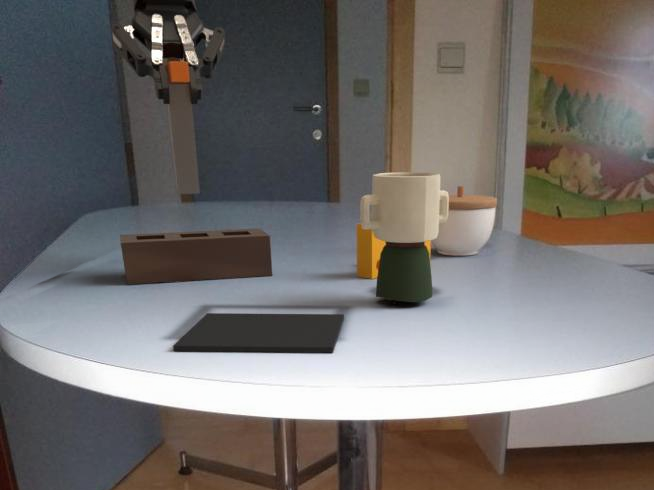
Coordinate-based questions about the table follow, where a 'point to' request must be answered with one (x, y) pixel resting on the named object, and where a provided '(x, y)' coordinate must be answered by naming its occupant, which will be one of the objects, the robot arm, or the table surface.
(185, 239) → the organizer
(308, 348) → the mat
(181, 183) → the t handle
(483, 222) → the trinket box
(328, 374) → the table surface
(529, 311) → the table surface
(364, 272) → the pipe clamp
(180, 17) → the robot arm
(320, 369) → the table surface
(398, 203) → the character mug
